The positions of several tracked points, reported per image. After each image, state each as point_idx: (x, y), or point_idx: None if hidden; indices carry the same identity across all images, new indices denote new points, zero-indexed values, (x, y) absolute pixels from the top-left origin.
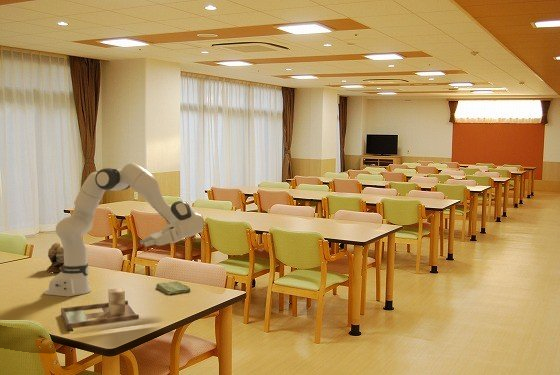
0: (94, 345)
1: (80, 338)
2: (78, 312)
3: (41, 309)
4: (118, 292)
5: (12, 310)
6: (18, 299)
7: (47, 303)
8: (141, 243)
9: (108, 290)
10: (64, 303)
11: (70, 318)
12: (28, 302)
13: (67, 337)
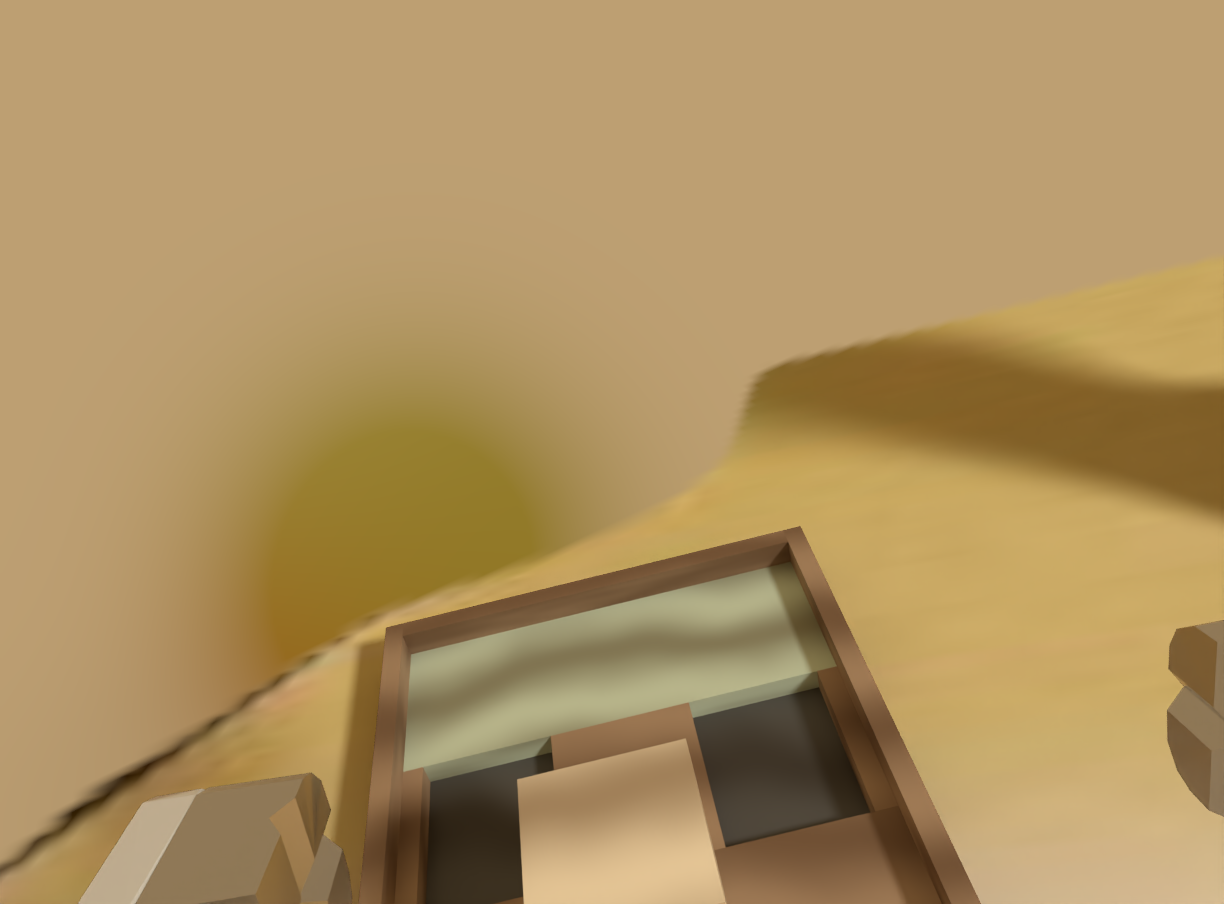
0: (7, 868)
1: (212, 761)
2: (749, 651)
3: (952, 448)
4: (524, 869)
5: (934, 349)
6: (1194, 308)
7: (1115, 441)
8: (1176, 719)
9: (674, 747)
10: (1132, 526)
11: (602, 628)
12: (1127, 359)
13: (283, 686)
